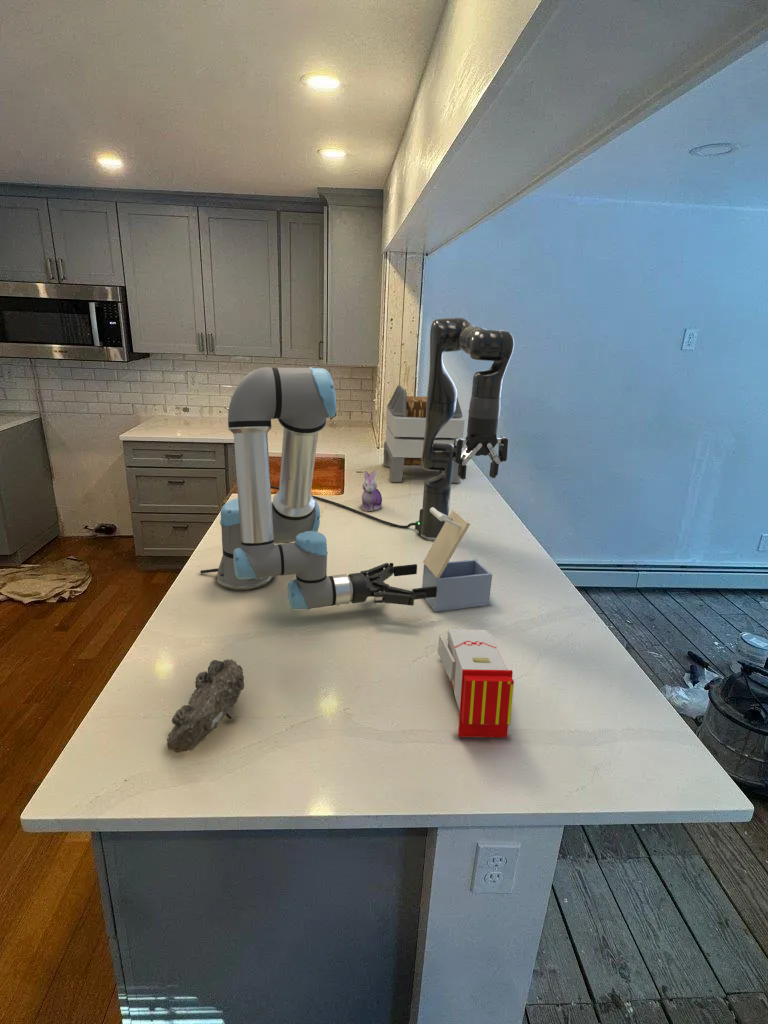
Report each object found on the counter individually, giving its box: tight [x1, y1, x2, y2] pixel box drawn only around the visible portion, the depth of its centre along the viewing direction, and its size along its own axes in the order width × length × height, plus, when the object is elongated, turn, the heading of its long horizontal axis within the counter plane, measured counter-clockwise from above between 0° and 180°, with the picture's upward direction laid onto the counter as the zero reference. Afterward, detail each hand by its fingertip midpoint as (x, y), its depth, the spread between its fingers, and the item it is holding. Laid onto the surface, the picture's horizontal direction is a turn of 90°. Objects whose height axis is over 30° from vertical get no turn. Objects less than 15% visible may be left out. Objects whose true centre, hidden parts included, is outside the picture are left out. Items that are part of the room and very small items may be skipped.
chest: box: [421, 558, 493, 613], centre depth 154 cm, size 16×10×9 cm, turn 107°
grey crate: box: [383, 384, 465, 484], centre depth 268 cm, size 34×33×41 cm
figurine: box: [360, 469, 383, 512], centre depth 222 cm, size 9×10×15 cm
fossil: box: [166, 658, 245, 754], centre depth 106 cm, size 22×10×15 cm
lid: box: [422, 507, 471, 579], centre depth 148 cm, size 16×10×8 cm
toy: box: [437, 628, 515, 738], centre depth 117 cm, size 12×13×30 cm
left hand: (426, 579), depth 151 cm, fingers open, 13 cm apart
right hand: (477, 477), depth 145 cm, fingers open, 8 cm apart
